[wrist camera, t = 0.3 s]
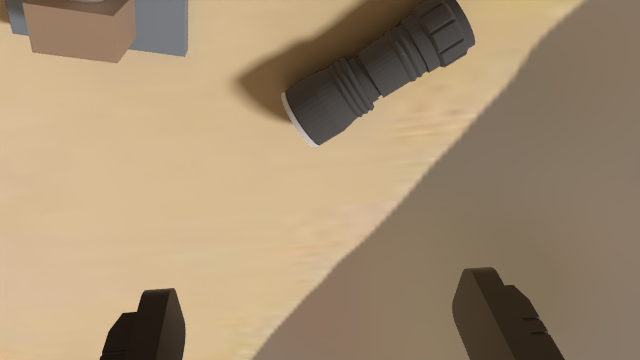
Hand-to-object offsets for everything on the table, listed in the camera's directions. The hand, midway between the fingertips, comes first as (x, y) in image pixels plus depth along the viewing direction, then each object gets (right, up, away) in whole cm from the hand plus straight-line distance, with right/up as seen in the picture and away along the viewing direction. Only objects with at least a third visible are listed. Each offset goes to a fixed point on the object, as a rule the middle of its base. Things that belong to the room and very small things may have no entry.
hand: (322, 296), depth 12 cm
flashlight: (+4, +14, +25) cm, 29 cm away
